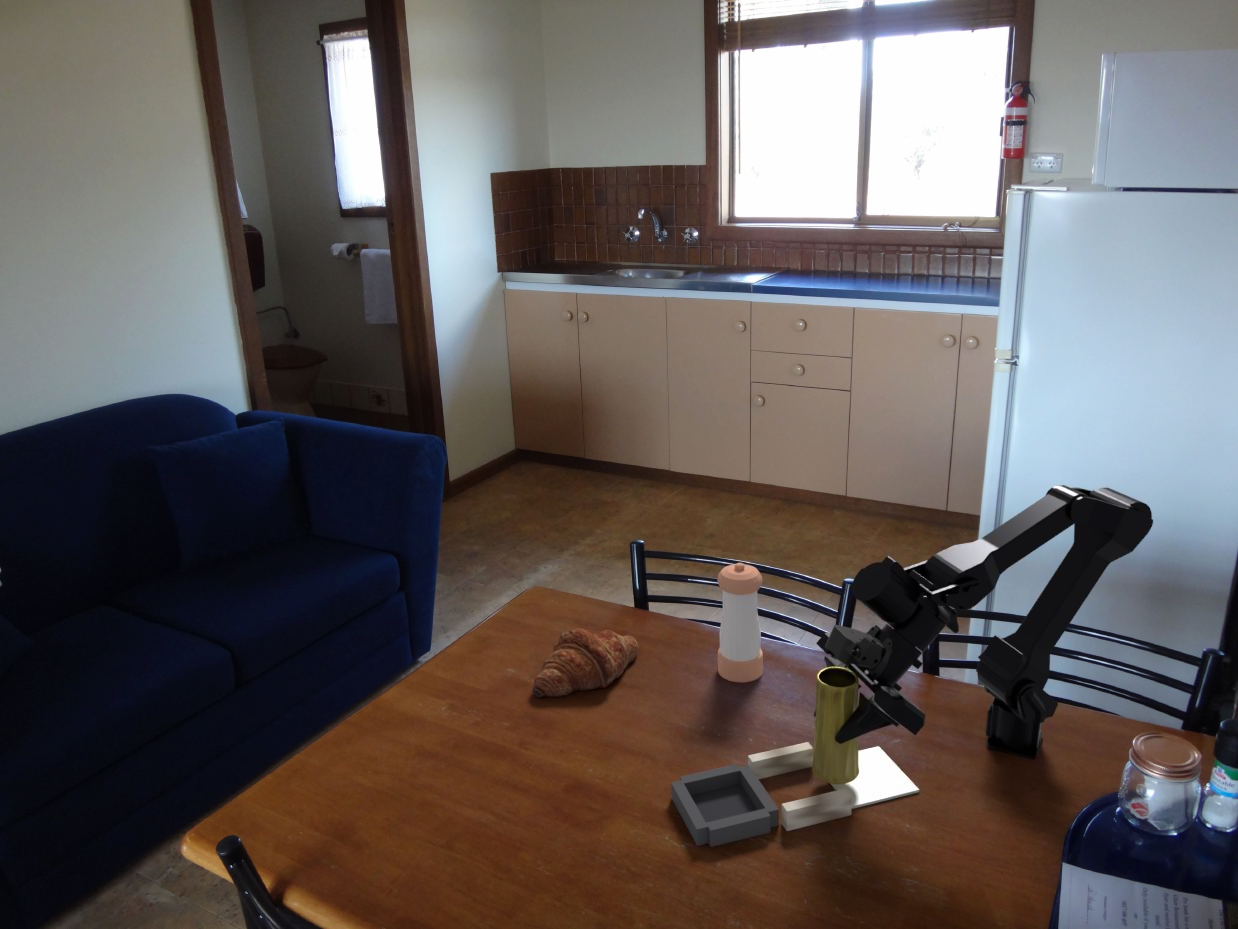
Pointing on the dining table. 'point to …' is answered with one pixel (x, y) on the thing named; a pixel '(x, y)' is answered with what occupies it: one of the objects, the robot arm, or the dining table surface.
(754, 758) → the channel
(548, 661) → the pastry
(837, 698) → the vase
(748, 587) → the salt shaker
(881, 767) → the pad
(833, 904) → the dining table surface
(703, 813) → the tray
